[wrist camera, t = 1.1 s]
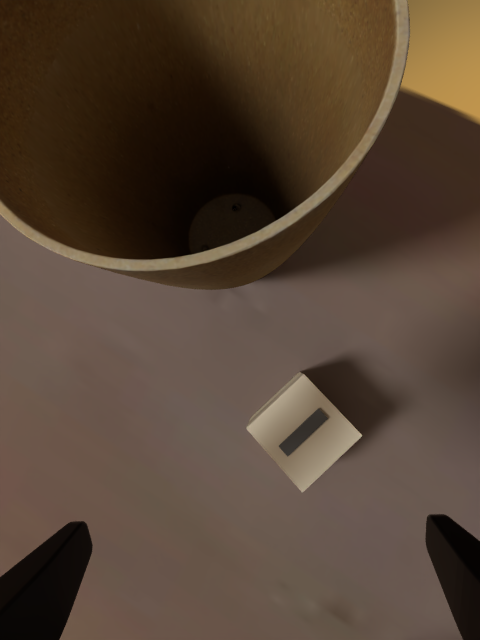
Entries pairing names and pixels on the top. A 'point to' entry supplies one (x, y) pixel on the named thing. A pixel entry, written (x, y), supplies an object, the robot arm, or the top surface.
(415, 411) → the top surface
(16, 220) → the plant pot
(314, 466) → the numbered tile one
